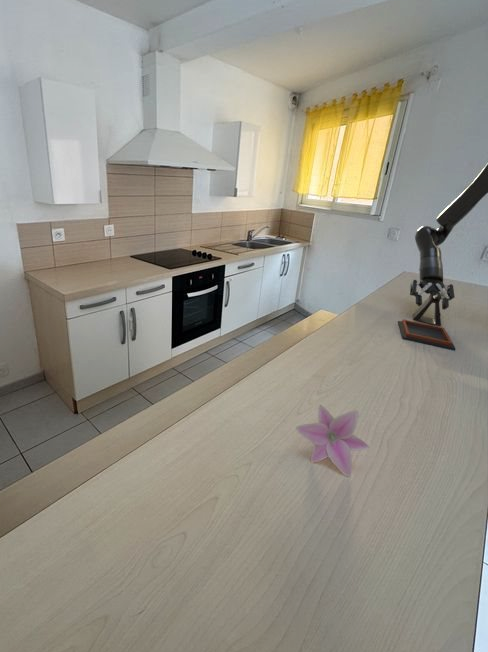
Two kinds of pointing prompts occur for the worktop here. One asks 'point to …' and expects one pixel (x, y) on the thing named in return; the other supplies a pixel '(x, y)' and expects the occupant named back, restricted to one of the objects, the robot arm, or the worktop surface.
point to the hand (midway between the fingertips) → (432, 307)
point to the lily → (334, 438)
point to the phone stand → (422, 309)
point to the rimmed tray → (425, 334)
